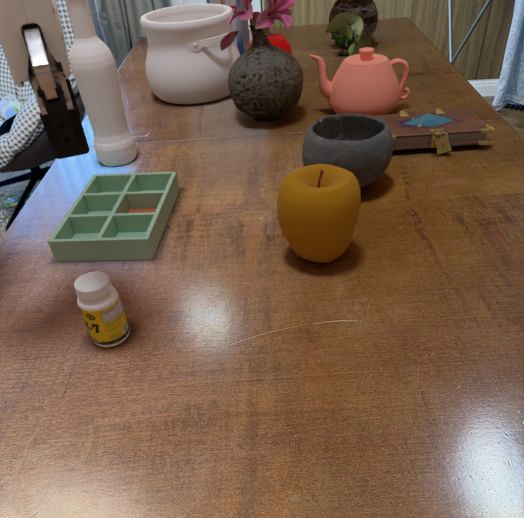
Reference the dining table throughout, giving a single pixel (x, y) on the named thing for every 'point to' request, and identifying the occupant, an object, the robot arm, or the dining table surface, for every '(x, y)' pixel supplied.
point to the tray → (117, 218)
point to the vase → (264, 66)
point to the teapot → (363, 84)
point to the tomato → (278, 42)
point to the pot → (189, 52)
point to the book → (437, 129)
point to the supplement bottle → (101, 309)
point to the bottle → (99, 89)
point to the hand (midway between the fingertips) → (69, 137)
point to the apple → (319, 210)
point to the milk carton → (237, 23)
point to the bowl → (350, 145)
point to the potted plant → (353, 24)
